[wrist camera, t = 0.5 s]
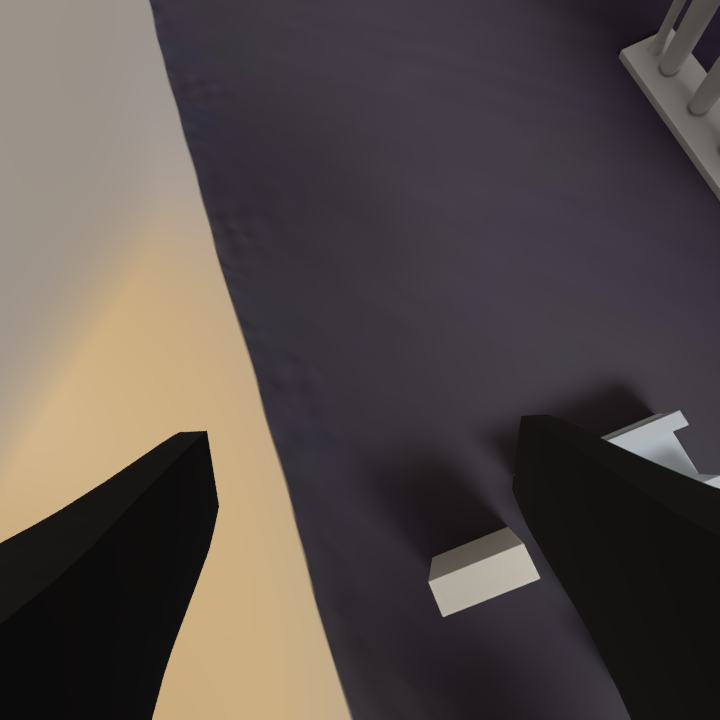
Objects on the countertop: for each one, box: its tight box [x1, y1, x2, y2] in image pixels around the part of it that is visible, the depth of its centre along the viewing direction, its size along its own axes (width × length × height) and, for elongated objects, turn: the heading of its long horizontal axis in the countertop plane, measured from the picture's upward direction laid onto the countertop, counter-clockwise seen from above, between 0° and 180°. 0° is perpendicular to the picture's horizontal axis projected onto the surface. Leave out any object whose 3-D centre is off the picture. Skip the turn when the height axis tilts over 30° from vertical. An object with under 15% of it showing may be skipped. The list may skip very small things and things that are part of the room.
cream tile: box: [429, 527, 540, 617], centre depth 29 cm, size 2×6×7 cm, turn 113°
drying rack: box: [513, 411, 720, 489], centre depth 29 cm, size 14×11×4 cm
